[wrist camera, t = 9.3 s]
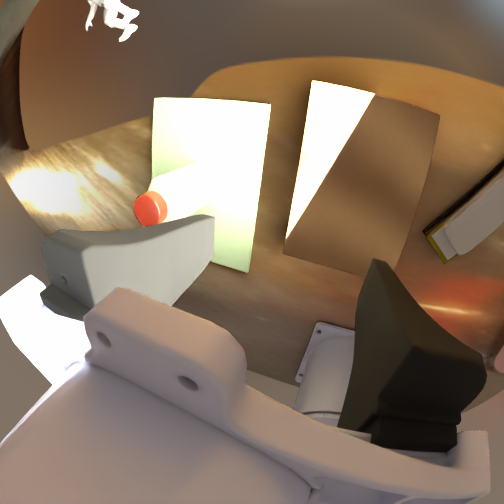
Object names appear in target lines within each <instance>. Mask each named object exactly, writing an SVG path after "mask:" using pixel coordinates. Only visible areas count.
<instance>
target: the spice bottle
mask: <svg viewBox="0 0 504 504" xmlns="http://www.w3.org/2000/svg"><path fill="white" fill-rule="evenodd" d="M217 192H218V179H217V176H216V174H215V172H214V171H213V170H212V169H211V168H210V167H209V166H208V165H206V164H204V163H201V162H194V163H190V164H188V165H185V166H182V167H180V168H177V169H174V170H172V171H169V172H167V173H164V174H162V175H159V176H157V177H156V178H155V179H153V181H152V182H151V184H150V186H149V189H148V192H146V193H144V194H142V195H140V196H138V197H137V198H136V200H135V202H134V213H135V216H136V218H137V220H138V221H139V222H140V223H141V224H142V225H143V226H145V227H146V226H151V225H155V224H160V223H161V222H163V221H164V222H168V221H172V220H176V219H180V218H184V217H189V216H190V215H192V214H193V213H195V212H196V211H198V210H199V209H201V208H202V207H204V206H205V205H207V204H208V203H210V202H211V201H212V200H213V199H214V198H215V197H216V195H217Z"/></svg>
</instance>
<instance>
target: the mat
mask: <svg viewBox="0 0 504 504" xmlns="http://www.w3.org/2000/svg"><path fill="white" fill-rule="evenodd" d="M270 108H271V105H270V104H262V103H253V102H244V101H233V100H220V99H201V98H154V111H153V132H152V181H153V179H155V178H156V177H157V176H159V175H162V174H164V173H167V172H169V171H172V170H174V169H177V168H180V167H182V166H185V165H188V164H190V163H194V162H201V163H204V164H206V165H208V166H209V167H210V168H211V169H212V170H213V171H214V172H215V174H216V176H217V179H218V192H217V195H216V197H215V198H214V199H213V200H212V201H211V202H210V203H208V204H207V205H205V206H204V207H202V208H201V209H199V210H198V211H196V212H195V213H193V214H192V215H190V216H193V215H199V214H205V215H210V216H214V217H215V232H214V255H213V257H212V258H211V260H210V261H211V262H214V263H217V264H221V265H224V266H227V267H230V268H234V269H237V270H240V271H243V272H247V273H248V271H249V268H250V260H251V253H252V245H253V237H254V230H255V222H256V214H257V207H258V199H259V191H260V184H261V176H262V169H263V161H264V153H265V146H266V138H267V130H268V123H269V115H270ZM161 223H164V221H163V222H161Z"/></svg>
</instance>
